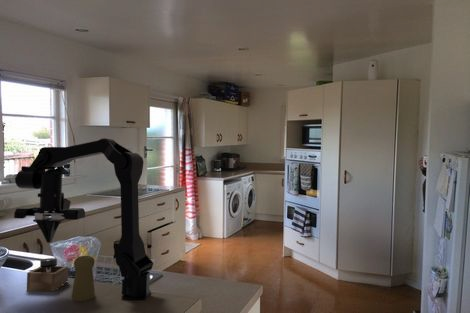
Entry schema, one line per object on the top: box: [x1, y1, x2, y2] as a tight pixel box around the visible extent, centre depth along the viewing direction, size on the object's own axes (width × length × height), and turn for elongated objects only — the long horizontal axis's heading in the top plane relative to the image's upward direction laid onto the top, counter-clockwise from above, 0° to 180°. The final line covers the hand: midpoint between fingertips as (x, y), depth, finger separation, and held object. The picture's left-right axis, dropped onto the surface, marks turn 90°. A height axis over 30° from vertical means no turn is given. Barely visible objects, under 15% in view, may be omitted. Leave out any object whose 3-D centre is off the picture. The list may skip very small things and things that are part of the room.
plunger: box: [39, 257, 58, 273], centre depth 109 cm, size 6×6×7 cm
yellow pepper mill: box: [70, 255, 96, 302], centre depth 101 cm, size 6×6×11 cm
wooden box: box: [26, 265, 69, 292], centre depth 109 cm, size 8×8×5 cm
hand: (49, 242), depth 110 cm, fingers closed
